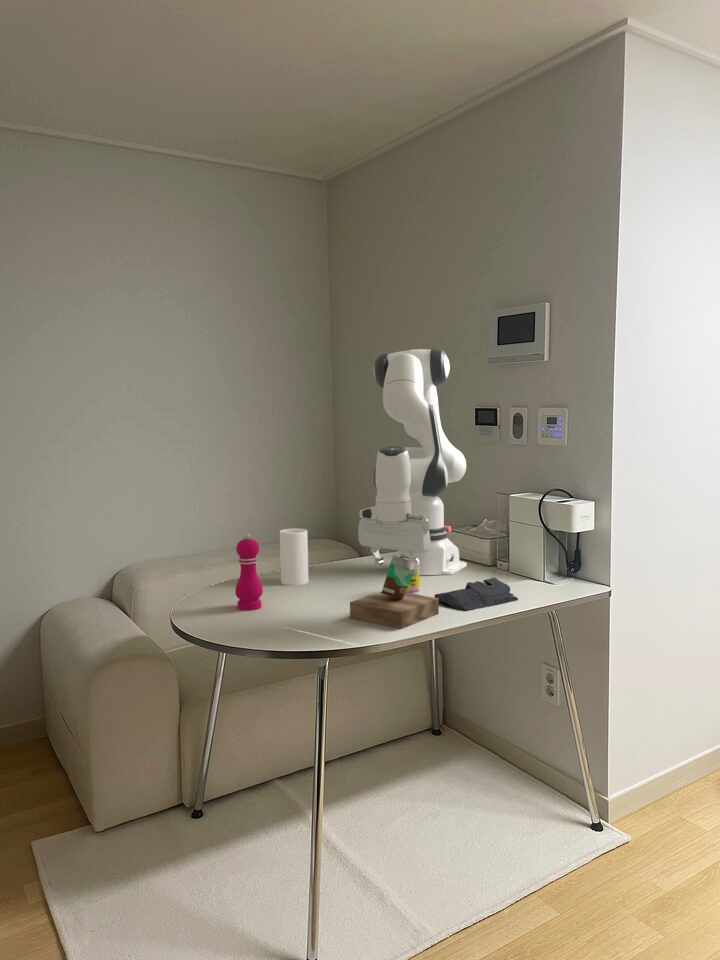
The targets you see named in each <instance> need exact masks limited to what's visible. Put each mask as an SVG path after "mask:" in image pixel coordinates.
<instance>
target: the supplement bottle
mask: <svg viewBox="0 0 720 960" xmlns="http://www.w3.org/2000/svg"><path fill="white" fill-rule="evenodd" d="M398 553H399V556H400V555H401V554H403V555H405V556H408V557H411V556H409V552H406V551H399V550H398ZM416 560H417V561H418V570H415V571H414V573H413V576H412V578H411V581H410V583H409V585H408V588H407V590H406V593H411V594H417V595H420V575H419V559H418V558H416Z"/></svg>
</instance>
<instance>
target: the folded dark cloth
mask: <svg viewBox="0 0 720 960" xmlns="http://www.w3.org/2000/svg"><path fill="white" fill-rule="evenodd" d="M510 591H511V587H510V586H509V584H507V583H505V582H502V581H501V580H499V579H497V577H491V578H488V579H483V581H479V580H476V581H474V582H472V581H469V582H467V583H466V585H465V588H462V589H456V590H452V591H446V592H440V593H436V594H434V598H439V603H440V602H441V603H443V604H446V605H448V606H449V607H452V608H453V609H456V610H457V611H462V612H463V611H465V612H470V611H475V610H480V609H483V608H485V609H486V608H489V607H495V606H499V605H504V604H507V603H511V602H513V603H514V602H516V601H518V600H519V598H518V597H517V596H515V595H514V594H513V593H511V592H510Z"/></svg>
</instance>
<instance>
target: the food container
mask: <svg viewBox="0 0 720 960" xmlns="http://www.w3.org/2000/svg"><path fill="white" fill-rule="evenodd" d="M409 559H410V557H408V556H405V555H403V554H401V555H400V554H399V556H398V555H395V554H394V555H392V557H391V559H390V560H391V561H390V564H389V567H388V571H387V573H386V574H387V575H386V577H385V580H384V584H383V587H382V590H381V591H380V592H381V593H383V594H385V595H389V596H392V597H396V598H403V597H404V595H405V593H406V590H407V588H408V585H409V583H410V581H411V578H412V576H413V573H414V571H415V570H418V561H417V560H415V562H414V569H412V570H409V569H406V568H405V567H406V565H405V562H408V561H409Z"/></svg>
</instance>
